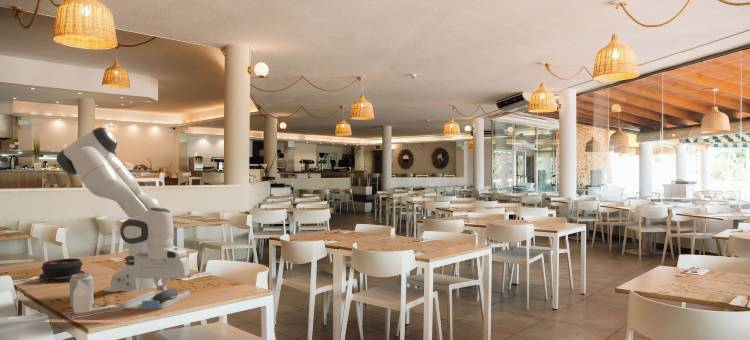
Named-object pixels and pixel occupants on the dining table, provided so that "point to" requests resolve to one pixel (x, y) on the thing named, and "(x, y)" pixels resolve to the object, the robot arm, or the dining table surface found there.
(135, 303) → the grey shallow tray
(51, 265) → the casserole
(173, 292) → the dark grey capsule
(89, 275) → the can
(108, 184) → the robot arm
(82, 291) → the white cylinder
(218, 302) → the dining table surface
